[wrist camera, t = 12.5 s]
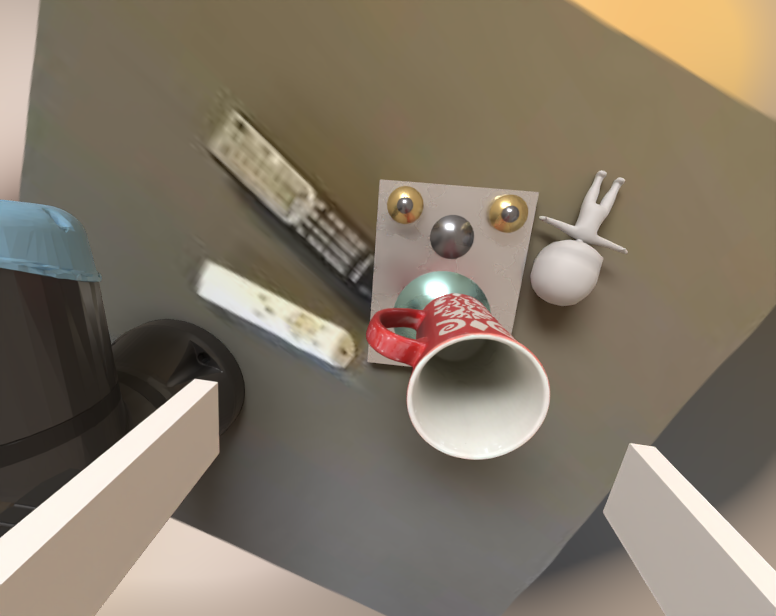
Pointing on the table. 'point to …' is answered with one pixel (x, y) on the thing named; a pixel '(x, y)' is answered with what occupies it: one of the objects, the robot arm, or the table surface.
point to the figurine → (575, 251)
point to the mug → (464, 377)
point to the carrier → (449, 248)
